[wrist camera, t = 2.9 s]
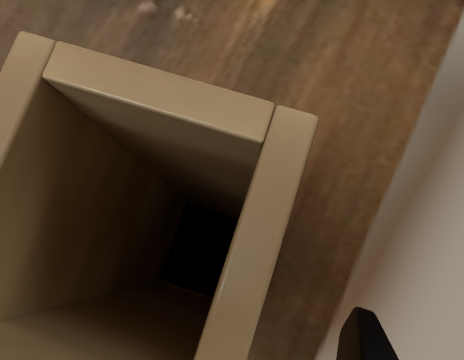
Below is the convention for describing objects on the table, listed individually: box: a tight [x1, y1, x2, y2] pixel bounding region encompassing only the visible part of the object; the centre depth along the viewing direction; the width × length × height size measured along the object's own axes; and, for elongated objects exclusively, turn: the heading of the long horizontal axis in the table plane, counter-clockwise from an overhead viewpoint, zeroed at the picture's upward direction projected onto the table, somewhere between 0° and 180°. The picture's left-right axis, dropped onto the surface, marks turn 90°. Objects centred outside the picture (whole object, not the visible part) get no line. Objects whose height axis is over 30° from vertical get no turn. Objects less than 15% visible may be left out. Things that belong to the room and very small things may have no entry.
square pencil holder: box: [0, 31, 318, 360], centre depth 11 cm, size 5×4×12 cm
